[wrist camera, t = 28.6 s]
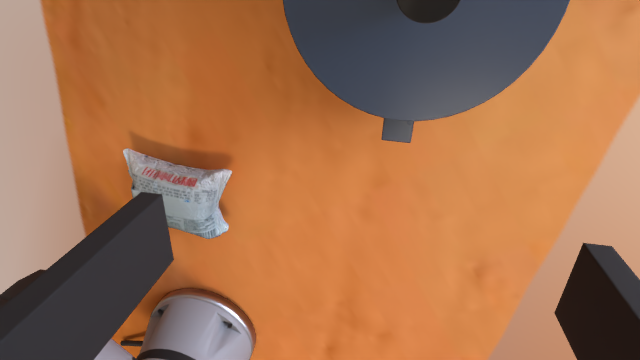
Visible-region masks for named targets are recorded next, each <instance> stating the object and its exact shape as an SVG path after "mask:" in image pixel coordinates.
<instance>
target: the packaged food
mask: <svg viewBox="0 0 640 360" xmlns="http://www.w3.org/2000/svg"><path fill="white" fill-rule="evenodd" d="M123 153H124V156H125V158H126V161H127V165H128V167H129V170H128V172H129V174H130V176H131V178H132V180H133V183H132V187H131V191H132V197H133V198H134V197H135V196H137V195H138V194H139V193H140V192H148V193H156V194H162V196H163V201H164V207H165V213H166V219H167V224H168V227H170V228H175V229H179V230H182V231H184V232H188V233H191V234H195V235H197V236H200V237H203V238H206V239H210V238H214V237H218V236H220V235H221V234H222V233H223V232H224V233H225V232H226V231H227V230H228V228H229V225H228V224H227V223H226V222H225V221H224V219H223V216H222V214H221V211H220V208H219V200H220V198H221V195H222V193H223V190H224V188H225V186H226V183H227V181H228V180H229V179H230V176H231V173H232V171H231V170H228V169H219V170H206V169H199V168H193V167H186V166H183V165H176V164H173V163H170V162H167V161H164V160H161V159H157V158H154V157H151V156H148V155H145V154H141V153H139V152H136V151H133V150H131V149H129V148H126V149H124V150H123ZM127 153H128V154H127Z"/></svg>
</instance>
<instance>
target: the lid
mask: <svg viewBox="0 0 640 360" xmlns="http://www.w3.org/2000/svg"><path fill="white" fill-rule="evenodd" d="M569 1H570V0H283V4H284V10H285V16H286V19H287V22H288V26H289V29H290V32H291V35H292V37H293V39H294V42H295V44H296V46H297V49H298V51H299V52H300V54H301V56H302V57H303V59H304V61H305V63H306V64H307V65H308V67H309V68H310V69H311V71H312V72H313V73H314V75H315V76H316V77H317V78H318V79H319V80H320V81H321V82H322V83H323V84H324V85H325V86H326V87H327V88H328V89H329V90H330V91H331V92H332V93H334V94H335V95H336V96H338V97H339V98H340V99H342V100H343V101H345V102H347V103H348V104H350V105H352V106H353V107H355V108H357V109H360V110H362V111H364V112H367V113H369V114H372V115H376V116H379V117H383V118H387V119H394V120H400V121H423V120H434V119H439V118H443V117H448V116H452V115H455V114H458V113H461V112H464V111H467V110H469V109H471V108H473V107H475V106H478V105H480V104H482V103H484V102H485V101H487V100H489V99H490V98H492V97H494V96H495V95H497V94H499V93H500V92H501V91H503V90H504V89H505V88H507V87H508V86H509V85H510V84H512V83H513V82H514V81H515V80H516V79H518V78H519V77H520V76H521V75H522V74H523V73H524V72H525V71H526V70H527V69H528V68H529V67H530V66H531V65H532V63H533V62H534V61H535V60H536V59H537V57H538V56H539V55H540V54H541V53H542V51H543V50H544V48H545V47H546V45H547V44H548V42H549V41H550V39H551V38H552V36H553V35H554V33H555V32H556V30H557V28H558V26H559V24H560V22H561V20H562V18H563V16H564V14H565V12H566V9H567V6H568V4H569Z"/></svg>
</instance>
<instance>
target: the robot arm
mask: <svg viewBox="0 0 640 360" xmlns="http://www.w3.org/2000/svg"><path fill="white" fill-rule="evenodd" d="M173 260H174V259H173V253H172V247H171V242H170V236H169V230H168V224H167V219H166V213H165V207H164V201H163V196H162V194H156V193H148V192H140V193H139V194H138V195H137V196H135V197H134V198H133V199H132V200H131V201H129V202H128V203H127V204H126V205H124V206H123V207H122V208H121V209H120V210H118V211H117V212H116V213H115V214H114V215H112V216H111V217H110V218H109V219H108V220H106V221H105V222H104V223H103V224H101V225H100V226H99V227H98V228H97V229H95V230H94V231H93V232H92V233H91V234H89V235H88V236H87V237H86V238H85V239H83V240H82V241H81V242H80V243H78V244H77V245H76V246H75V247H74V248H72V249H71V250H70V251H69V252H68V253H67V254H65V255H64V256H63V257H62V258H60V259H59V260H58V261H57V262H56V263H54V264H53V265H52V266H51V267H50V268H48V269H47V270H38V271H37V272H34V273H32V274H30V275H29V276H27V277H25V278H23V279H21V280H19V281H17V282H16V283H15V284H13V285H12V286H11V287H10V288H8V289H7V290H6V291H5V292H3V293H2V294H1V295H0V360H250V357H251V355H252V352H253V350H254V347H255V343H256V335H255V331H254V328H253V326H252V323H251V322H250V320H249V319H248V317H247V316H246V315H245V313H244V312H243V311H242V310H241V309H240V308H239V307H237V306H236V305H235V304H234V303H232V302H231V301H229V300H228V299H226V298H224V297H222V296H220V295H218V294H215V293H213V292H210V291H206V290H202V289H194V288H185V289H179V290H175V291H172V292H170V293H168V294H167V295H165V296H164V297H163V298H162V299H161V301H160V302H159V303H158V305H157V306H156V307H155V309H154V310H153V312H152V314H151V317H150V321H149V324H148V327H147V331H146V334H145V337H144V341H130V340H124V341H121V345H122V346H142V347H141V351H140V353H139V355H138V356H137V358H134V357H133V356H132V355H131V354H130V353H129V352H127V351H126V350H125V349H124V348H122V347H121V346H120V345H119V344H117V343H116V342H115V341H114V340H112V339H111V338H112V337H113V335H114V334H115V333H116V332H117V330H118V329H119V328H120V326H121V325H122V324H123V323H124V321H125V320H126V319H127V318H128V316H129V315H130V314H131V313H132V311H133V310H134V309H135V308H136V306H137V305H138V304H139V303H140V301H141V300H142V299H143V298H144V296H145V295H146V294H147V293H148V291H149V290H150V289H151V288H152V286H153V285H154V284H155V283H156V281H157V280H158V279H159V278H160V276H161V275H162V274H163V273H164V271H165V270H166V269H167V267H168V266H169V265H170V264H171V262H172V261H173ZM555 315H556V317H557V319H558V321H559V323H560V325H561V327H562V329H563V331H564V333H565V335H566V338H567V340H568V342H569V343H570V346H571V348H572V350H573V352H574V354H575V356H576V358H577V360H640V280H639V278H638V277H637V276H636V275H635V274H634V273H633V271H632V270H631V269H630V268H629V266H628V265H627V264H626V263H625V262H624V260H623V259H622V258H621V257H620V256H619V254H618V253H617V252H616V251H615V249H614V248H613V247H612V246H604V245H596V244H587V243H583V245H582V247H581V250H580V252H579V255H578V257H577V260H576V262H575V264H574V267H573V269H572V272H571V274H570V277H569V279H568V281H567V284H566V287H565V289H564V291H563V294H562V296H561V298H560V301H559V303H558V306H557V308H556V311H555Z"/></svg>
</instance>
